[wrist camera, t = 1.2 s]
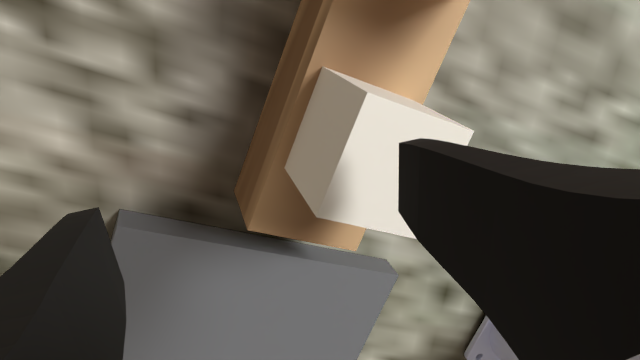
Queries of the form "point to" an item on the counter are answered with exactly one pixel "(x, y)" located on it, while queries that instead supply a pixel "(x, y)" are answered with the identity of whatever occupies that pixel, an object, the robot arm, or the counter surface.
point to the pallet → (352, 60)
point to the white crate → (360, 150)
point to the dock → (242, 294)
